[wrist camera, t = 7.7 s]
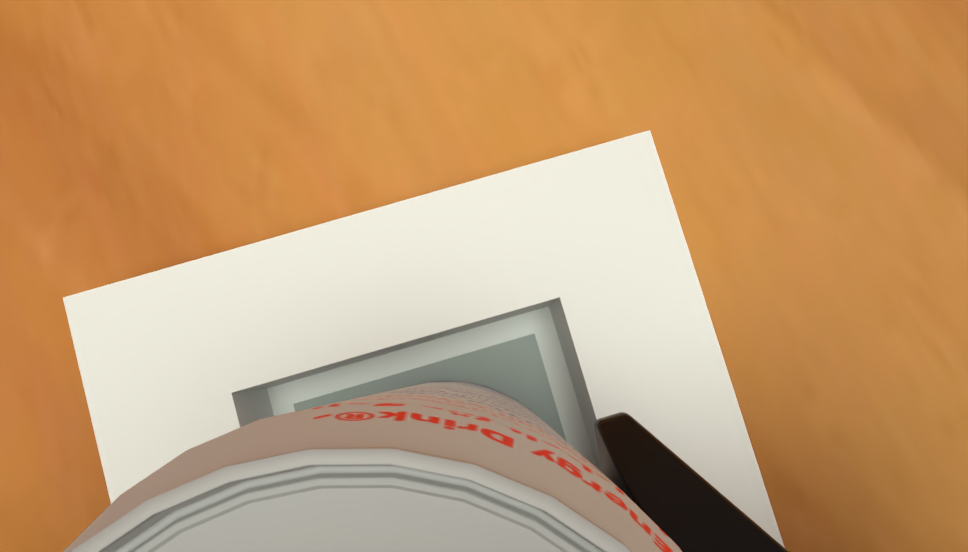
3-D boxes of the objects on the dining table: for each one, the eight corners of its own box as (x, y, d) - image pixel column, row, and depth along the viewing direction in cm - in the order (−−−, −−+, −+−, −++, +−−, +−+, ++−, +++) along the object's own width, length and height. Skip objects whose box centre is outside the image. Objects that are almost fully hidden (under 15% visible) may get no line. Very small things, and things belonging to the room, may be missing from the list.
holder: (784, 675, 17) (846, 739, 14) (260, 837, 17) (212, 939, 14) (623, 167, 19) (650, 130, 16) (131, 308, 18) (62, 297, 15)
